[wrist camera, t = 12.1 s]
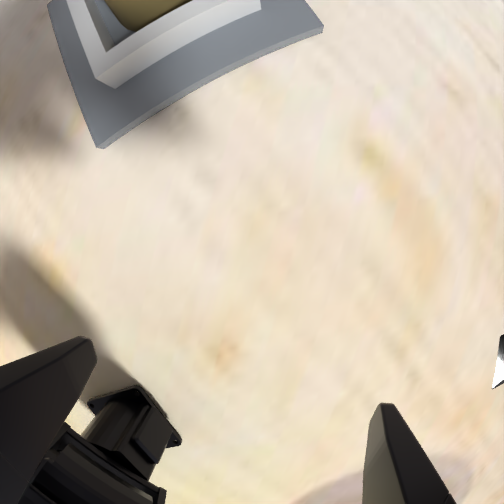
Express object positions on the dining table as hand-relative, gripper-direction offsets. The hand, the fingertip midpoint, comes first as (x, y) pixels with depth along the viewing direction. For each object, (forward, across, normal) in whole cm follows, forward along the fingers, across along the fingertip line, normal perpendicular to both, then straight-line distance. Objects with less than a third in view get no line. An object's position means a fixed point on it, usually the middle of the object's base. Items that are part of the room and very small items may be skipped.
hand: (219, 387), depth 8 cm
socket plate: (+14, +10, -16) cm, 23 cm away
